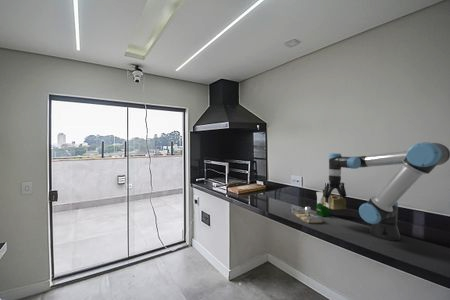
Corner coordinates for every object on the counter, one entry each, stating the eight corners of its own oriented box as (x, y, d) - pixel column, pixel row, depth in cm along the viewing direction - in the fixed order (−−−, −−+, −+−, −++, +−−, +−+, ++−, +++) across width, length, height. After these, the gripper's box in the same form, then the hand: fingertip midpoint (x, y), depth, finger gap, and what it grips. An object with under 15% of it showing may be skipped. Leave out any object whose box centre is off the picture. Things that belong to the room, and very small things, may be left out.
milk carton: (331, 215, 165) (332, 191, 164) (323, 217, 161) (323, 191, 160) (322, 212, 173) (323, 188, 172) (314, 213, 169) (314, 189, 169)
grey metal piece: (321, 220, 150) (321, 210, 150) (309, 221, 148) (309, 211, 148) (306, 211, 169) (306, 203, 169) (294, 212, 167) (295, 203, 166)
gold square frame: (346, 208, 142) (346, 198, 142) (333, 209, 140) (333, 199, 140) (335, 204, 152) (335, 195, 152) (323, 205, 150) (323, 195, 150)
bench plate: (322, 222, 150) (322, 220, 150) (307, 223, 148) (307, 221, 148) (307, 213, 169) (307, 211, 169) (293, 214, 167) (293, 212, 167)
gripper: (344, 174, 152) (344, 204, 152) (317, 174, 147) (316, 206, 148) (352, 175, 145) (352, 207, 145) (324, 176, 140) (324, 209, 140)
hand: (334, 206), depth 146 cm, fingers closed on gold square frame, 10 cm apart
